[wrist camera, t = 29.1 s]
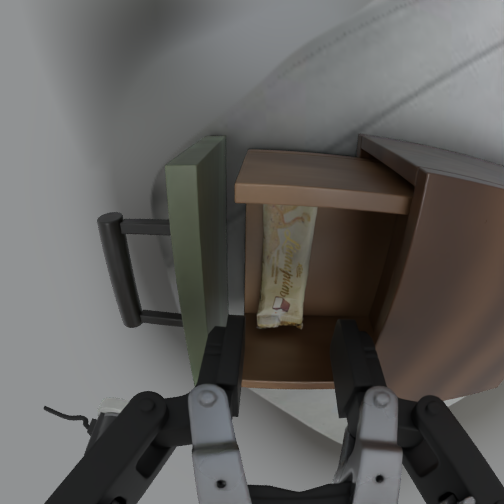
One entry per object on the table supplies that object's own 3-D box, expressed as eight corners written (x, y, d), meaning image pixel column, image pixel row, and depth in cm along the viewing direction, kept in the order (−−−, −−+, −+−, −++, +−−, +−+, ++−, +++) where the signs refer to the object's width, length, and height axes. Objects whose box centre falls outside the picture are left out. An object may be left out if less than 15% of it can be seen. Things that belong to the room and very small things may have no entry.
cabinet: (327, 318, 24) (343, 414, 16) (358, 133, 17) (427, 171, 9) (457, 315, 23) (497, 387, 15) (508, 167, 16) (587, 216, 8)
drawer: (154, 310, 23) (123, 380, 17) (129, 139, 17) (59, 172, 10) (369, 320, 23) (392, 393, 16) (410, 153, 16) (477, 192, 10)
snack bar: (260, 181, 15) (318, 189, 14) (270, 176, 16) (323, 183, 15) (254, 328, 19) (297, 340, 18) (262, 315, 21) (304, 326, 20)
